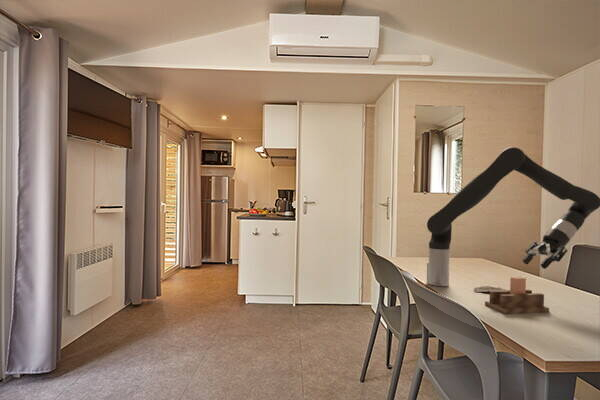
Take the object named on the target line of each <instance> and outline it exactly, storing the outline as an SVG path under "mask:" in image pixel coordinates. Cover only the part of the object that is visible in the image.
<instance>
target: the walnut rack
mask: <svg viewBox="0 0 600 400" xmlns="http://www.w3.org/2000/svg"><path fill="white" fill-rule="evenodd" d="M484 306H486V307H488V308H490V309H493V310H495V311H497V312H500V313H502V314H504V315H515V314H517V315H518V314H534V313H535V314H536V313H540V314H541V313H549V312H550V307H547V306H545V294H544V293H542V292H541V293H540V292H539V293H538V292H537V293H535V292H534V293H533V291H532V289H527V288H526V294H510V289H506V290H500V291H489V300H488V301H487V300H486V301H484Z"/></svg>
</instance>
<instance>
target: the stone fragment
mask: <svg viewBox="0 0 600 400" xmlns="http://www.w3.org/2000/svg"><path fill="white" fill-rule="evenodd" d="M500 290H507V289H506V288H502V287H500V286H498V287H493V286H489V285H488V286H485V285H484V286H482V285H481V286H480V287H474V289H473V292H474V293H481V292H485V293H486V292H490V291H500Z"/></svg>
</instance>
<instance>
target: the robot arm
mask: <svg viewBox="0 0 600 400" xmlns="http://www.w3.org/2000/svg"><path fill="white" fill-rule="evenodd" d="M514 171H516V172H518V173H520V174H521V175H524V176H525V177H528V179H531V180H532V181H533V182H534V183H536V184H538V186H540V187H541V188H542V189H544V190H546V191H547V192H548V193H550V194H552V195H553V196H555V197H557V198H558V199H559V200H563V201H565V200H569V201H572V203H571V204H570V206H569V207H568V208H567V210H566V212H565V213H563V214H562V216H560V218H559V219H558V220H557V221H556V222H555V223H554V224H553V225H552V226H551V227H550V228H549V230H547V232H546V233H545V234H544V235H543V237H542V241H541V242H537V241H536V240H534V241H533V242H532V243H531V244H529V246H528V247H527V248H526V249H525V251H524V252H525V253H526V255H525V257H524V258H523V259H522V262H523V263H524V265H529V263H530V262H532V261H533V259H534V258H536V257H541V256H547V257H545V258H544V260H543V261H542V262H541V263H540V267H541V268H542V269H544V270H546V269H548V267H549V266H550V265H551V264H552V263H554V262H558V263H559V262H560V261H561V260H562V259H563V257H564V256H565V255H566V254H567V252H568V249H567V248H566V246H567V244H569V242H570V241H571V240H572V239H573V238H574V236H575V235H576V233H577V232H578V231H579V230H580V229H581V228H582V226H583V225H584V223H585V220H586V219H587V218H588V217H589V216H590V215H591V214H592V213H594V212H595V211H596V210H598V209H599V208H600V197H599V196H598V195H597V194H596V193H594V192H593V191H591V190H588V189H586V188H583V187H580V186H578V185H574V184H573V183H571V182H569V181H567V180H566V179H564V178H563V177H561V176H559V175H557V174H556V173H553V172H552V171H550V170H548V169H546V168H544V167H543V166H541V165H539V164H538V163H537V162H535V161H534V160H532V158H530V157H529V156H528V155H527V154H525V152H524V150H523V149H520V148H518V147H515V146H512V147H507V148H505V149H504V150H502V151H501V152H500V154H498V156H497V157H496V158H495V159H494V161H493V162H492V163H491V164H490V165H488V167H487V168H486V169H485V170H483V171H482V172H481V173H479V174H478V175H476V177H474V178H473V179H472V180H470V181H469V182H468V183H467V184H466V185H464V187H463V188H461V190H460V191H458V192H457V194H456V195H455V196H453V198H452V199H450V201H449V202H448V203H447V204H446V205H445V206H443V207H442V208H441V209H439V210H438V211H436V212H435V213H434V214H432V215H431V216H430V217H429V218H428V220H427V222H426V228H427V230H428V232H430V233H431V235H430V236H431V238H430V240H429V241H428V262H427V263H426V283H427V284H428V285H431V286H435V287H448V286H450V254H451V253H450V251H451V249H450V245H451V242H452V229H453V227H452V226H453V225H452V223H453V222H454V221H455V220H456V219H457V218H458V217H460V216H461V215H464V214H465V213H467V212H468V211H470V210H471V209H473V208H474V207H475V206H477V205H478V204H479V203H480V202H482V201H483V200H484V199H485V198H486V197H487V196H488V195H489V194H490V193H491V192H492V191H493V190H494V189H495V187H496V186H497V185H498V183H499V182H500V181H501V180H502V179H505V177H506V176H508V175H509V174H510V173H512V172H514Z"/></svg>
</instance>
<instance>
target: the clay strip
mask: <svg viewBox="0 0 600 400" xmlns="http://www.w3.org/2000/svg"><path fill="white" fill-rule="evenodd" d="M526 280H527V278H525V277H523V276H516V277H515V276H512V277H511V276H510V283H509V286H510V287H509V290H510V294H526V290H527V288H526V287H527V286H526V285H527V284H526V283H527V281H526Z"/></svg>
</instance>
